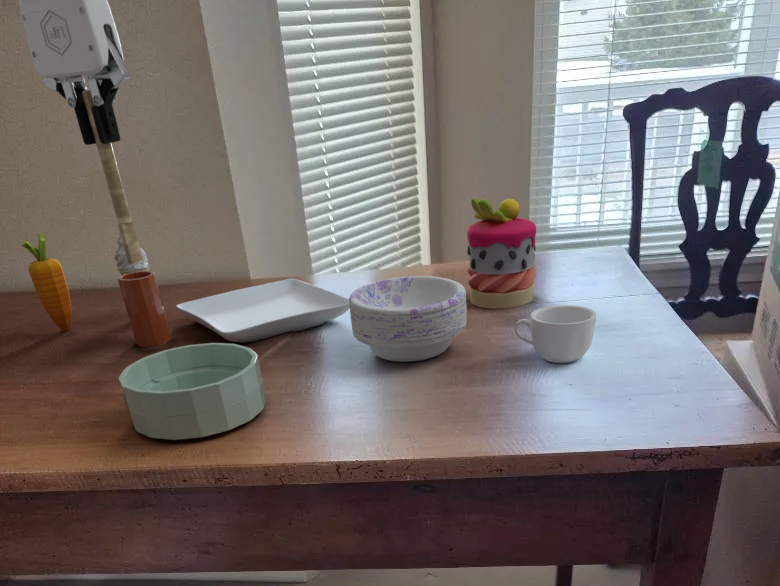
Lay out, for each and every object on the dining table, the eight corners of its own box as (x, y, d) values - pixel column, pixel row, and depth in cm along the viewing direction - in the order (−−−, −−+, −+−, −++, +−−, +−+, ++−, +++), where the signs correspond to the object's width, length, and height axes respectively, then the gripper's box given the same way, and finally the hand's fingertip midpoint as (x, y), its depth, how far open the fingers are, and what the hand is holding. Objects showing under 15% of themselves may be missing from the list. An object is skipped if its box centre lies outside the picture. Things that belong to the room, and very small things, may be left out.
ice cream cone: (156, 310, 125) (131, 216, 116) (167, 316, 121) (142, 219, 113) (127, 317, 122) (99, 222, 114) (137, 324, 119) (109, 225, 110)
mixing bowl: (107, 438, 82) (90, 388, 79) (182, 386, 94) (170, 340, 90) (223, 449, 77) (211, 396, 74) (288, 393, 89) (279, 345, 86)
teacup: (599, 348, 93) (602, 306, 90) (585, 370, 88) (588, 326, 85) (523, 343, 97) (523, 302, 94) (505, 364, 92) (505, 321, 89)
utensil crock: (130, 349, 108) (110, 280, 103) (150, 337, 112) (132, 270, 106) (159, 350, 107) (140, 280, 101) (178, 339, 110) (161, 270, 105)
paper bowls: (441, 376, 90) (438, 311, 85) (334, 365, 96) (326, 304, 91) (483, 335, 101) (482, 276, 97) (385, 328, 107) (380, 272, 102)
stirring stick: (136, 264, 98) (88, 90, 87) (125, 263, 99) (76, 91, 88) (146, 259, 100) (101, 89, 89) (135, 259, 101) (89, 90, 90)
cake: (501, 286, 121) (501, 186, 112) (549, 296, 114) (553, 191, 105) (454, 301, 116) (450, 198, 107) (502, 313, 109) (501, 204, 100)
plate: (295, 295, 126) (292, 274, 124) (359, 321, 111) (356, 298, 109) (177, 324, 117) (172, 303, 115) (229, 357, 102) (224, 333, 100)
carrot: (57, 340, 115) (22, 239, 106) (46, 334, 118) (11, 236, 109) (88, 331, 117) (56, 232, 109) (76, 326, 120) (44, 229, 112)
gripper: (-28, -37, 81) (32, 149, 91) (86, -56, 76) (136, 143, 86) (22, -33, 87) (73, 142, 97) (131, -51, 82) (172, 136, 92)
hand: (102, 141), depth 92 cm, fingers closed on stirring stick, 1 cm apart
